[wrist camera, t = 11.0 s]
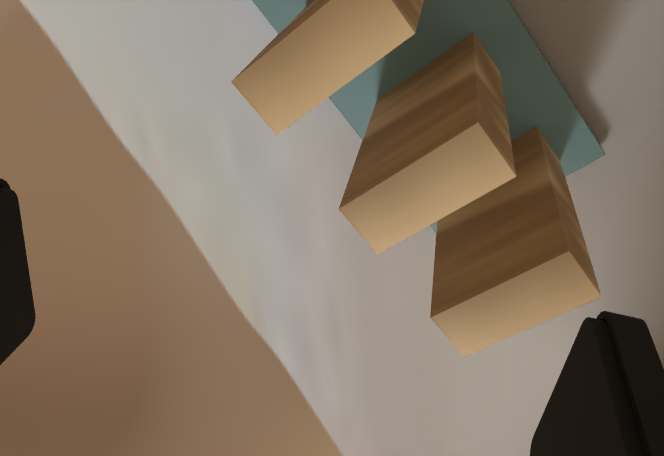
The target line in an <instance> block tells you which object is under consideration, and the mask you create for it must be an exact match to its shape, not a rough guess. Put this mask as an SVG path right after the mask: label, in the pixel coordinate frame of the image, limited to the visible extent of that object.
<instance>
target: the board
mask: <svg viewBox="0 0 664 456" xmlns="http://www.w3.org/2000/svg"><path fill="white" fill-rule="evenodd" d="M252 1H253V2H254V3H255V5H256V6H257V7H258V8H259V10H260V11H261V12H262V13H263V15H264V16H265V17H266V19H267V20H268V21H269V22H270V24H271V25H272V26H273V27H274V29H275V30H276V31H277V32H278V34H279V33H280V32H281V31H282V30H283V29H284V28H285V27H286V26H287V25H288V24H289V23H290V22H291V21H292V20H293V19H294V18H295V17H296V16H297V15H298V14H299V13H300V12H301V11H302V10H303V9H304V8H305V7H306V6H308V5H309V4H310V3H311V2H312V1H313V0H252ZM473 32H474V33H475V35H476V36H477V38H478V39H479V41H480V42H481V44H482V45H483V47H484V48H485V50H486V51H487V53H488V54H489V56H490V57H491V59H492V60H493V62H494V63H495V65H496V66H497V68H498V69H499V71H500V75H501V82H502V88H503V94H504V101H505V107H506V114H507V120H508V126H509V133H510V139H511V141H513V140H514V139H516V138H518V137H519V136H521V135H523V134H524V133H526V132H528V131H529V130H531V129H533V128H535V127H536V126H537V127H538V129H539V130H540V132H541V133H542V135H543V136H544V138H545V139H546V141H547V142H548V144H549V145H550V146H551V148H552V149H553V151H554V152H555V154H556V155H557V157H558V158H559V160H560V162H561V165H562V169H563V172H564V175H565V176H567V175H569V174H570V173H572V172H574V171H576V170H578V169H580V168H582V167H583V166H585V165H587V164H589V163H591V162H593V161H594V160H596V159H598V158H600V157H602V156H604V155H605V152H604V150H603V149H602V147H601V145H600V144H599V142H598V141H597V139H596V138H595V136H594V135H593V133H592V131H591V130H590V128H589V127H588V125H587V124H586V122H585V120H584V119H583V117H582V116H581V114H580V113H579V111H578V109H577V108H576V106H575V105H574V103H573V102H572V100H571V99H570V97H569V95H568V94H567V92H566V91H565V89H564V88H563V86H562V84H561V83H560V81H559V80H558V78H557V77H556V75H555V73H554V72H553V70H552V69H551V67H550V66H549V64H548V63H547V61H546V59H545V58H544V56H543V55H542V53H541V52H540V50H539V48H538V47H537V45H536V44H535V42H534V41H533V39H532V37H531V36H530V34H529V33H528V31H527V30H526V28H525V27H524V25H523V23H522V22H521V20H520V19H519V17H518V16H517V14H516V12H515V11H514V9H513V8H512V6H511V5H510V3H509V1H508V0H424V2H423V6H422V9H421V13H420V17H419V21H418V24H417V28H416V32H415V34H414V35H412V36H411V37H410V38H408V39H407V40H405V41H404V42H403V43H401V44H400V45H399V46H397V47H396V48H395V49H393V50H392V51H390V52H389V53H388V54H386V55H385V56H384V57H382V58H381V59H380V60H378V61H377V62H376V63H374V64H373V65H371V66H370V67H369V68H367V69H366V70H365V71H363V72H362V73H361V74H359V75H358V76H356V77H355V78H354V79H352V80H351V81H350V82H348V83H347V84H346V85H344V86H343V87H341V88H340V89H339V90H337V91H336V92H335V93H333V94H332V95H331V96H329V98H330V99H331V101H332V102H333V103H334V104H335V106H336V107H337V108H338V110H339V111H340V112H341V113H342V115H343V116H344V117H345V118H346V120H347V121H348V122H349V123H350V125H351V126H352V127H353V129H354V130H355V131H356V132H357V134H358V135H359V136H360V137H361V139H362V140H363V138H364V135H365V132H366V129H367V127H368V124H369V121H370V118H371V115H372V112H373V109H374V106H375V104H376V101H377V99H379V98H380V97H382V96H383V95H385V94H386V93H387V92H389V91H390V90H392V89H393V88H395V87H396V86H397V85H399V84H400V83H402V82H403V81H405V80H406V79H407V78H409V77H410V76H412V75H413V74H415V73H416V72H417V71H419V70H420V69H422V68H423V67H425V66H426V65H427V64H429V63H430V62H432V61H433V60H435V59H436V58H437V57H439V56H440V55H442V54H443V53H445V52H446V51H447V50H449V49H450V48H452V47H453V46H455V45H456V44H457V43H459V42H460V41H462V40H463V39H465V38H466V37H467V36H469V35H470V34H472V33H473ZM430 226H431V227H432V228H433V230H434V231H435V232H436V233H437V221H436V222H434V223H433V224H431V225H430Z"/></svg>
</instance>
